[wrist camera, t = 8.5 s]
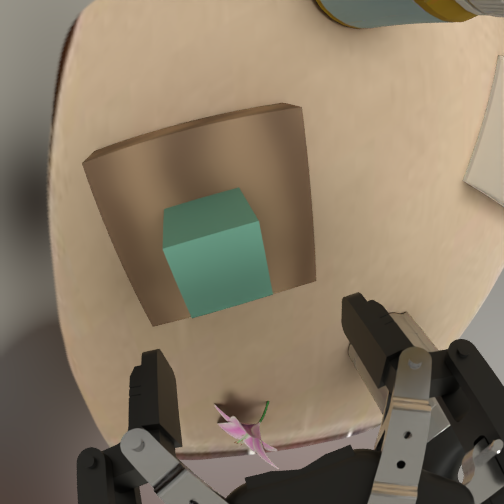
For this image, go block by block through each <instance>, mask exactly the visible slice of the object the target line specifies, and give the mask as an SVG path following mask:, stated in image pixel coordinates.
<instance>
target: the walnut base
mask: <svg viewBox="0 0 504 504" xmlns="http://www.w3.org/2000/svg"><path fill="white" fill-rule="evenodd" d="M82 165H83V168H84V171H85V173H86V176H87V179H88V182H89V185H90V188H91V190H92V193H93V196H94V198H95V201H96V204H97V206H98V209H99V211H100V214H101V216H102V219H103V221H104V224H105V226H106V229H107V231H108V234H109V236H110V238H111V241H112V243H113V245H114V248H115V250H116V252H117V254H118V257H119V259H120V261H121V263H122V265H123V268H124V270H125V272H126V274H127V276H128V278H129V280H130V283H131V285H132V287H133V289H134V291H135V293H136V295H137V297H138V299H139V301H140V303H141V305H142V307H143V309H144V311H145V313H146V314H147V316H148V318H149V320H150V322H151V324H152V326H158V325H162V324H165V323H169V322H173V321H177V320H181V319H185V318H189V317H191V315H190V313H189V311H188V308H187V306H186V304H185V302H184V299H183V297H182V295H181V292H180V290H179V288H178V285H177V283H176V281H175V278H174V276H173V274H172V271H171V269H170V266H169V264H168V261H167V259H166V256H165V254H164V251H163V218H164V209H166V208H169V207H172V206H176V205H179V204H182V203H186V202H189V201H192V200H196V199H199V198H203V197H206V196H210V195H213V194H217V193H220V192H224V191H228V190H231V189H235V188H240V190H241V192H242V193H243V195H244V197H245V198H246V200H247V202H248V203H249V205H250V207H251V208H252V210H253V212H254V214H255V215H256V217H257V219H258V220H259V224H260V229H261V234H262V240H263V245H264V250H265V255H266V260H267V265H268V270H269V276H270V281H271V286H272V291H273V294H275V293H278V292H281V291H285V290H288V289H291V288H295V287H298V286H301V285H304V284H308V283H311V282H314V281H316V264H315V245H314V229H313V214H312V201H311V189H310V178H309V167H308V157H307V147H306V138H305V129H304V121H303V113H302V107H299V106H295V105H290V104H286V103H279V104H273V105H267V106H261V107H255V108H250V109H244V110H239V111H234V112H229V113H224V114H220V115H215V116H211V117H207V118H202V119H198V120H194V121H190V122H186V123H182V124H178V125H175V126H171V127H167V128H164V129H160V130H157V131H153V132H150V133H147V134H144V135H140V136H137V137H134V138H131V139H128V140H125V141H122V142H119V143H116V144H113V145H110V146H107V147H104V148H102V149H99V150H96V151H94V152H93V153H92V154H91V155H90V156H89V157H88V158H87V159H86V160H85V161H84V162H83V163H82Z"/></svg>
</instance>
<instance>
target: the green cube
mask: <svg viewBox="0 0 504 504" xmlns="http://www.w3.org/2000/svg"><path fill="white" fill-rule="evenodd" d="M163 251H164V254H165V256H166V259H167V261H168V264H169V266H170V269H171V271H172V274H173V276H174V278H175V281H176V283H177V285H178V288H179V290H180V292H181V295H182V297H183V299H184V302H185V304H186V306H187V308H188V311H189V313H190V315H191V317H192V318H195V317H198V316H202V315H205V314H209V313H213V312H216V311H219V310H223V309H226V308H230V307H233V306H237V305H240V304H243V303H247V302H250V301H253V300H257V299H260V298H263V297H266V296H270V295H273V291H272V286H271V281H270V276H269V270H268V265H267V260H266V255H265V250H264V245H263V240H262V234H261V229H260V224H259V220H258V219H257V217H256V215H255V214H254V212H253V210H252V208H251V207H250V205H249V203H248V202H247V200H246V198H245V197H244V195H243V193H242V192H241V190H240V188H235V189H231V190H228V191H224V192H220V193H217V194H213V195H210V196H206V197H203V198H199V199H196V200H192V201H189V202H186V203H182V204H179V205H176V206H172V207H169V208H166V209H164V218H163Z"/></svg>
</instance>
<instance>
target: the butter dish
mask: <svg viewBox="0 0 504 504" xmlns="http://www.w3.org/2000/svg"><path fill="white" fill-rule="evenodd" d="M463 181H464V182H465V183H467V184H469V185H470V186H472V187H474V188H475V189H477V190H478V191H480V192H482V193H483V194H485V195H486V196H488V197H489V198H491V199H493V200H494V201H496V202H497V203H499V204H500V205H502V206H503V207H504V56H498V60H497V65H496V70H495V75H494V80H493V84H492V89H491V93H490V97H489V101H488V105H487V108H486V112H485V116H484V119H483V123H482V126H481V129H480V132H479V136H478V139H477V142H476V145H475V148H474V151H473V154H472V157H471V159H470V162H469V165H468V168H467V170H466V173H465V176H464V178H463Z"/></svg>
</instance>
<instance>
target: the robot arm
mask: <svg viewBox="0 0 504 504" xmlns="http://www.w3.org/2000/svg"><path fill="white" fill-rule="evenodd" d="M342 327H343V330H344V333H345V335H346V336H347V338H348V340H349V341H350V343H351V344H350V346H349V351H348V353H349V357H350V358H351V360H352V362H353V364H354V366H355V368H356V369H357V371H358V372H359V374H360V376H361V377H362V379H363V381H364V383H365V384H366V386H367V388H368V390H369V391H370V393H371V395H372V396H373V398H374V400H375V402H376V403H377V405H378V407H379V409H380V410H381V412H382V414H383V418H382V422H381V427H380V430H379V433H378V437H377V439H376V443H375V446H374V450H371V449H354V450H353V449H352V447H351V445H348V446H346V447H343V448H341V449H338V450H336V451H333V452H330V453H328V454H325V455H324V456H322V457H321V458H319V459H317V460H316V461H314V462H312V463H311V464H309V465H308V466H306V467H304V468H302V469H299V470H289V471H288V470H286V471H270V472H267V473H263V474H259V475H255V476H250V477H246V478H245V481H246V483H245V484H243V485H241V486H239V487H238V488H236V489H235V490H234V491H233V492H231V493H230V494H229V495H228V496H227V498H225V497H223V496H222V495H221V494H219V493H218V492H217V491H216V490H214V489H213V488H212V487H210V486H209V485H208V484H207V483H205V482H204V481H203V480H202V479H200V478H199V477H198V476H197V475H196V474H194V473H193V472H192V471H191V470H190V469H189V468H188V467H187V466H185V465H184V464H183V463H182V462H181V461H180V460H179V459H178V458H177V457H176V454H175V448H177V447H182V438H181V430H180V420H179V410H178V400H177V388H176V379H175V375H174V372H173V370H172V368H171V367H170V365H169V363H168V362H167V360H166V358H165V357H164V355H163V353H162V352H161V350H160V349H156V350H152V351H147V352H143V353H142V361H141V365H140V366H135V367H134V369H133V371H132V373H131V376H130V386H129V387H130V389H129V396H130V398H129V427H128V432H127V433H125V434H124V436H123V437H122V439H121V442H120V443H119V444H117V445H115V446H113V447H111V448H108V449H106V450H104V451H100V450H99V449H96V448H93V447H91V448H87V449H85V450H83V451H82V452H81V453H80V454H79V456H78V459H77V491H78V504H142V502H141V495H140V489H139V486H141V485H143V484H146V483H149V484H150V485H151V486H152V487H153V488H154V492H155V493H156V494H157V496H158V497H160V499H161V500H162V501H163V502H164V503H165V504H504V386H503V385H502V383H501V382H500V380H499V379H498V377H497V376H496V375H495V373H494V372H493V370H492V369H491V368H490V366H489V365H488V363H487V362H486V361H485V359H484V358H483V357H482V355H481V354H480V353H479V351H478V350H477V349H476V347H475V346H474V345H473V344H472V343H471V342H470V341H467V340H464V339H458V340H455V341H453V342H452V343H451V344H450V346H449V348H448V349H446V350H441V351H439V350H438V349H437V348H436V347H435V345H434V344H433V343H432V342H431V340H430V339H429V338H428V337H427V335H426V334H425V333H424V332H423V330H422V329H421V328H420V327H419V326H418V324H417V323H416V322H415V321H414V320H413V318H412V317H411V316H410V315H409V314H408V312H406V313H404V314H397V313H390V314H389V313H388V312H387V310H386V309H385V308H384V307H383V305H381V304H379V303H378V302H376V301H374V300H370V301H368V302H367V301H366V299H365V298H364V297H363V295H362V294H361V293H359V292H358V293H355V294H352V295H349V296H346V297H343V299H342ZM461 464H462V469H463V473H464V479H463V482H462V483H460V482H459V480H458V471H459V468H460V466H461Z"/></svg>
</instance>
